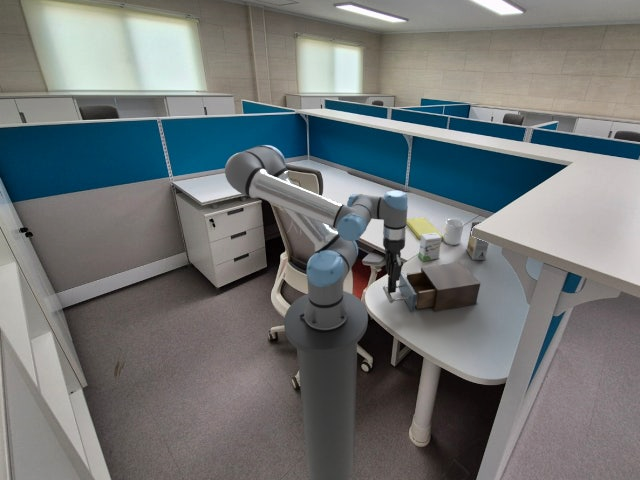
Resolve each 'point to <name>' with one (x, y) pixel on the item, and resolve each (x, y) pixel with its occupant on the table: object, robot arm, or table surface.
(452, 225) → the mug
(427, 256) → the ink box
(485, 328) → the table surface
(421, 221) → the yellow flat slab
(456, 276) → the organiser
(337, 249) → the robot arm
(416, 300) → the drawer
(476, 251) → the coffee box
